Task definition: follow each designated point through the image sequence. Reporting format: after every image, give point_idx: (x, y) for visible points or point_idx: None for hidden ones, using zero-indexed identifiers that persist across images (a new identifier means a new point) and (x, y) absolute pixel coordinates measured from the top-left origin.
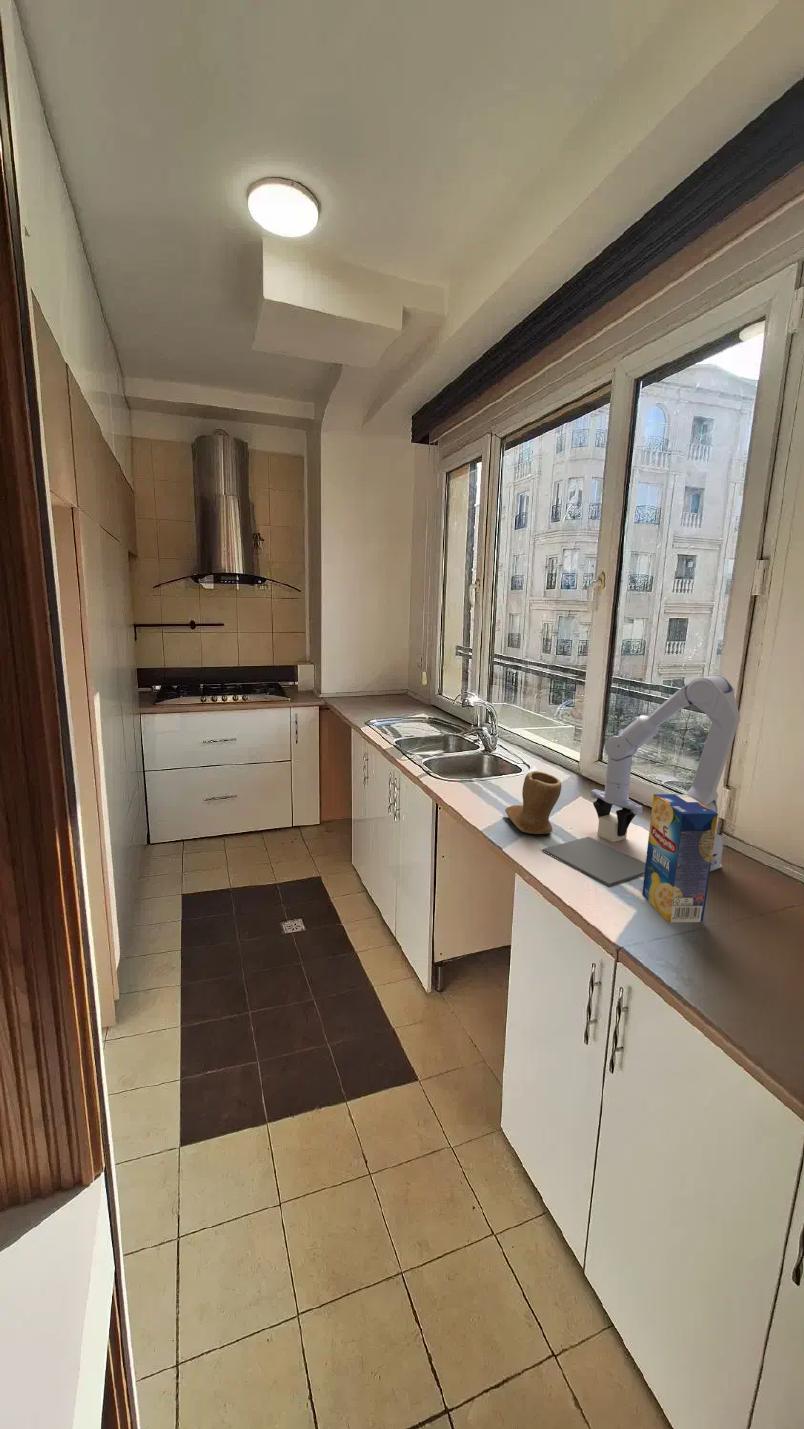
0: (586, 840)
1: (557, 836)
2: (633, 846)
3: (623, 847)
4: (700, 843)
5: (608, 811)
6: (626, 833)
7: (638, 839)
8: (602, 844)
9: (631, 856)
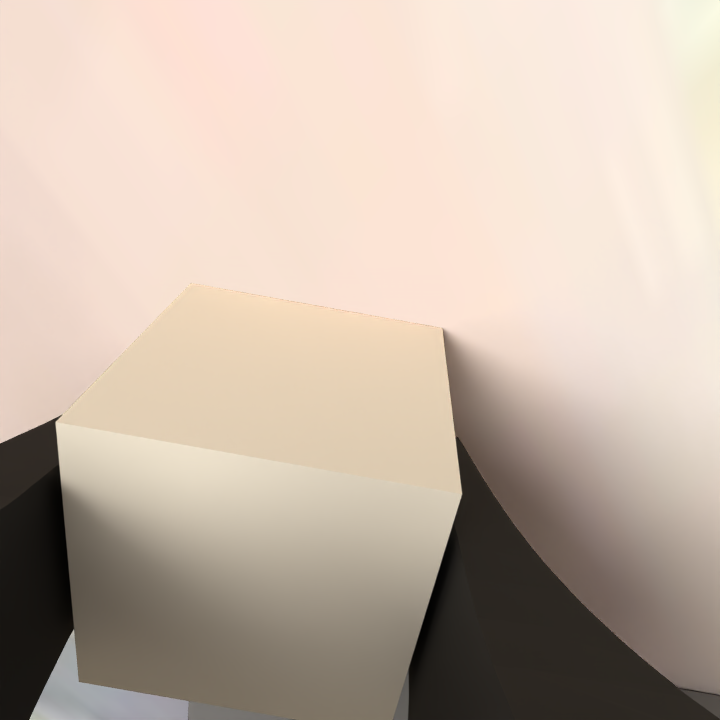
0: None
1: (37, 708)
2: (605, 464)
3: None
4: None
5: (10, 555)
6: (443, 365)
7: (574, 223)
8: None
9: None
